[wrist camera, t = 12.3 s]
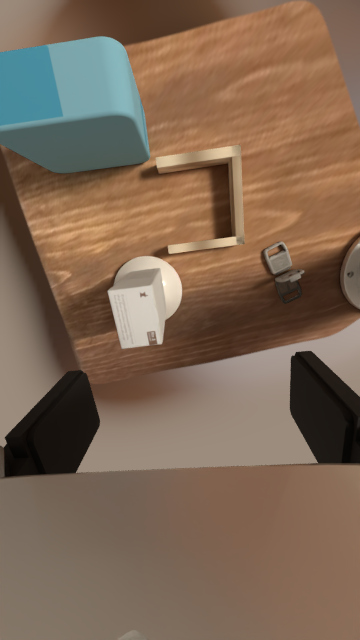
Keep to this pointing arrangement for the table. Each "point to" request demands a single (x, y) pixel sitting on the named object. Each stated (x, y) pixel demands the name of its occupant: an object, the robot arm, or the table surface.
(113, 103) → the data package
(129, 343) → the skincare box
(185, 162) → the stand
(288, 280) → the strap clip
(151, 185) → the table surface
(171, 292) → the ceramic coaster
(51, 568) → the robot arm
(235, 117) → the table surface
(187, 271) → the table surface
